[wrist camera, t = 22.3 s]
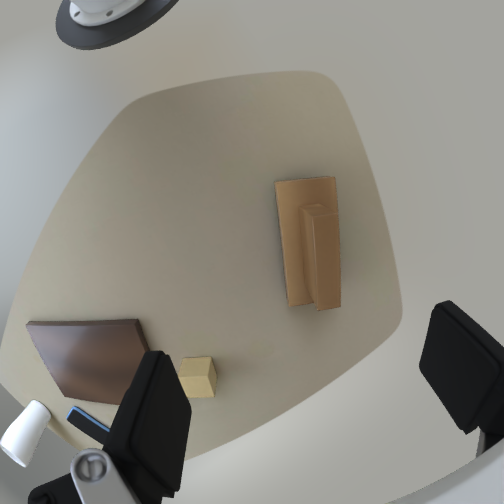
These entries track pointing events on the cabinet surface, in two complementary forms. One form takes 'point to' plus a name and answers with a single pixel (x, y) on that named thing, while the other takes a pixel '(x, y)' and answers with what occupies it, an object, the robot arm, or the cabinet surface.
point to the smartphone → (88, 425)
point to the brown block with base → (310, 241)
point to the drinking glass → (25, 433)
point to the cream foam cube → (198, 377)
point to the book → (90, 356)
